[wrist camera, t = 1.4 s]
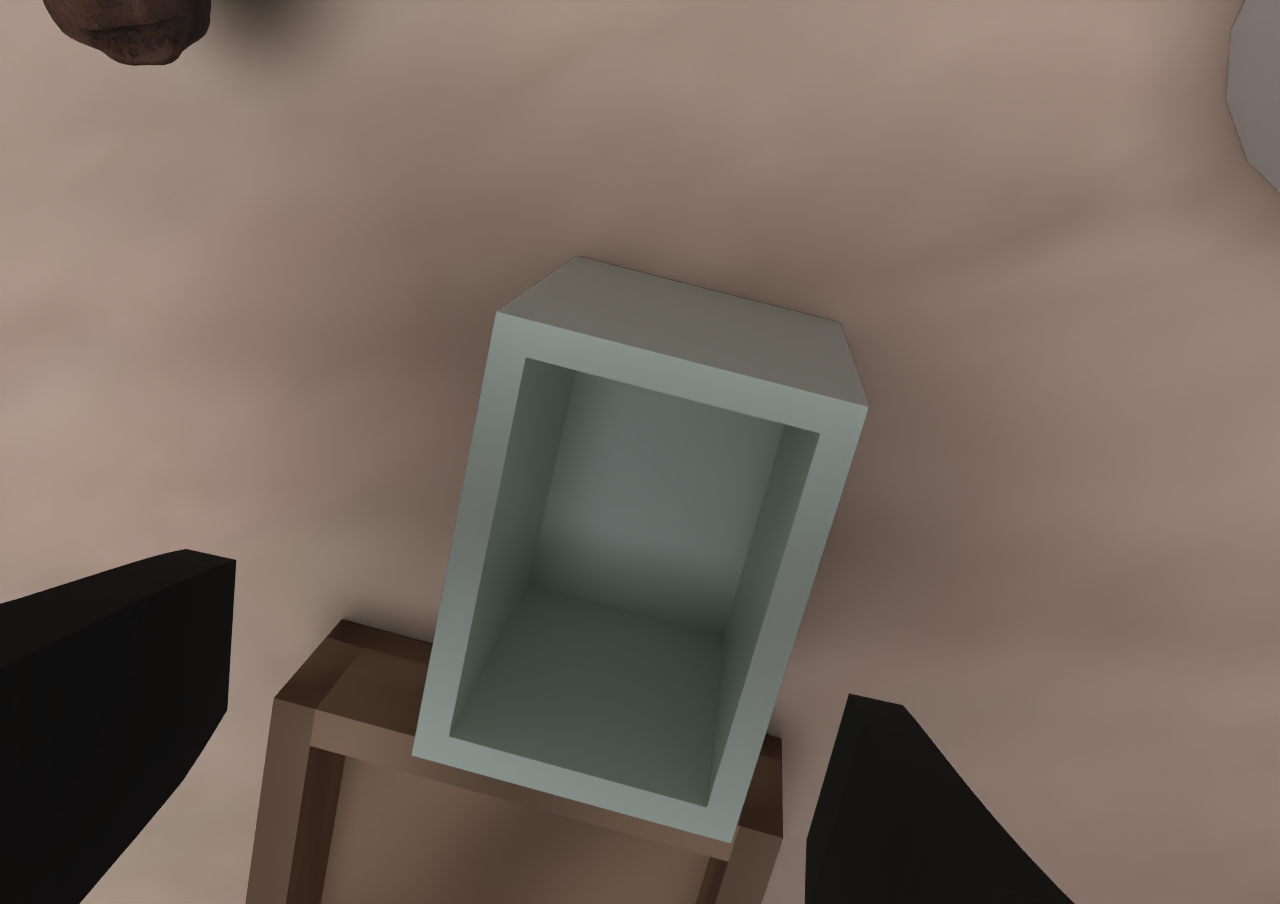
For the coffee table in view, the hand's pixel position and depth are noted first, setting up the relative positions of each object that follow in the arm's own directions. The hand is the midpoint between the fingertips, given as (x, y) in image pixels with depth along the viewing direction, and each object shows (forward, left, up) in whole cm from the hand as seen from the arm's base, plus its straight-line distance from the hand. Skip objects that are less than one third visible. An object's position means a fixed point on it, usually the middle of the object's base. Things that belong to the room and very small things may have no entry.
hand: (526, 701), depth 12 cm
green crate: (-1, 0, -9) cm, 9 cm away
